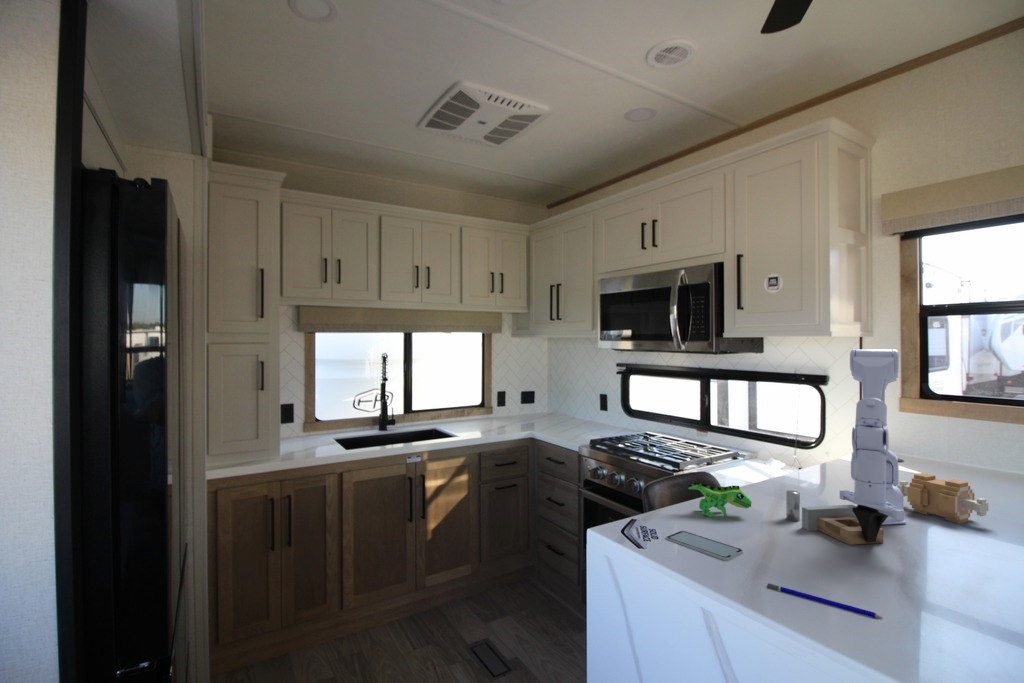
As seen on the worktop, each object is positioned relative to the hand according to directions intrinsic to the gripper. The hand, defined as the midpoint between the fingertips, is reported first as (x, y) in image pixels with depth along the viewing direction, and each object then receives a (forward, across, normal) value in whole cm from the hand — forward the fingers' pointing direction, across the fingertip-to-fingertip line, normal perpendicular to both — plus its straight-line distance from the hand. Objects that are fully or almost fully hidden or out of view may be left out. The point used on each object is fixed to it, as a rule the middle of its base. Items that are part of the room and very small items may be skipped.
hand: (870, 541), depth 109 cm
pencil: (+2, +20, -30) cm, 36 cm away
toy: (+1, -24, -22) cm, 32 cm away
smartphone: (+2, -6, -37) cm, 37 cm away
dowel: (+1, -18, -5) cm, 18 cm away
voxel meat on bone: (+1, -14, +36) cm, 39 cm away
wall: (+1, -11, 0) cm, 11 cm away
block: (+1, -6, 0) cm, 6 cm away
